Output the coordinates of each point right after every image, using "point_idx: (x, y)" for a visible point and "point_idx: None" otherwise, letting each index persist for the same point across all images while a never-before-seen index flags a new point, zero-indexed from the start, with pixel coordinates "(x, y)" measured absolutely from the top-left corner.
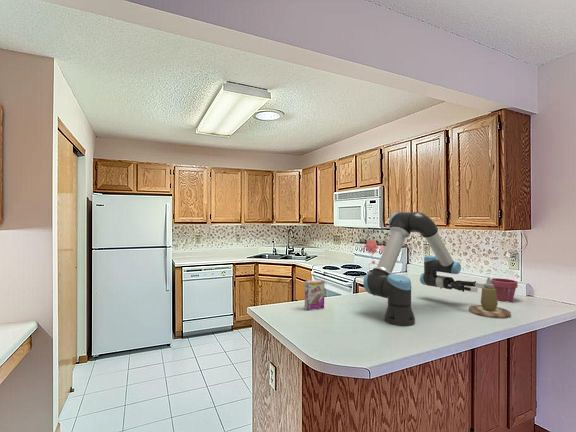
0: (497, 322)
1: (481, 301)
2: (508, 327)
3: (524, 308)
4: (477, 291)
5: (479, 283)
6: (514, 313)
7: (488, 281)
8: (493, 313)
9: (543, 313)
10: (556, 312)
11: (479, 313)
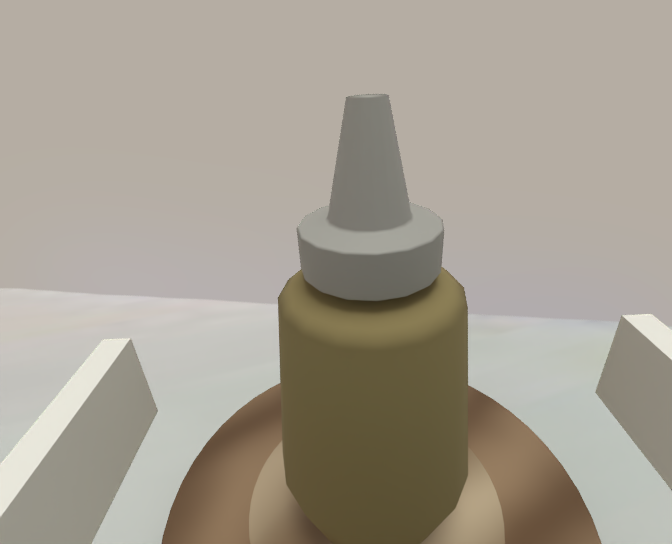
0: (568, 377)
1: (454, 494)
2: (579, 323)
3: (18, 401)
4: (605, 377)
5: (28, 486)
6: (229, 393)
7: (400, 164)
8: None
9: (123, 321)
10: (66, 302)
11: (589, 518)
